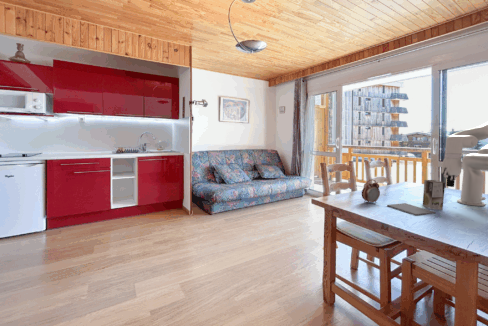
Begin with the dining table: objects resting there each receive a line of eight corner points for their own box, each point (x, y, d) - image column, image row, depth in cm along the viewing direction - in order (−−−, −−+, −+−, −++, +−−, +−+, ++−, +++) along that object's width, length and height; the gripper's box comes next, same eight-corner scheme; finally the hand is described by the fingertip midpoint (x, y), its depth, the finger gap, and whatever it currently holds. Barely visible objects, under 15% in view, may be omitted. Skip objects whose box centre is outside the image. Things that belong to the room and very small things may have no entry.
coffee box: (443, 210, 134) (445, 182, 132) (430, 209, 135) (432, 182, 133) (433, 205, 143) (436, 179, 141) (421, 204, 144) (424, 179, 142)
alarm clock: (366, 204, 145) (367, 180, 144) (360, 202, 150) (361, 179, 148) (380, 203, 148) (381, 180, 147) (374, 201, 153) (375, 178, 151)
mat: (405, 204, 145) (405, 203, 145) (435, 213, 128) (435, 212, 128) (387, 206, 142) (387, 204, 141) (415, 215, 124) (415, 214, 124)
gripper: (455, 155, 144) (452, 184, 146) (437, 156, 141) (434, 185, 143) (469, 156, 137) (466, 187, 139) (450, 157, 133) (447, 188, 135)
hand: (450, 186), depth 141 cm, fingers closed
